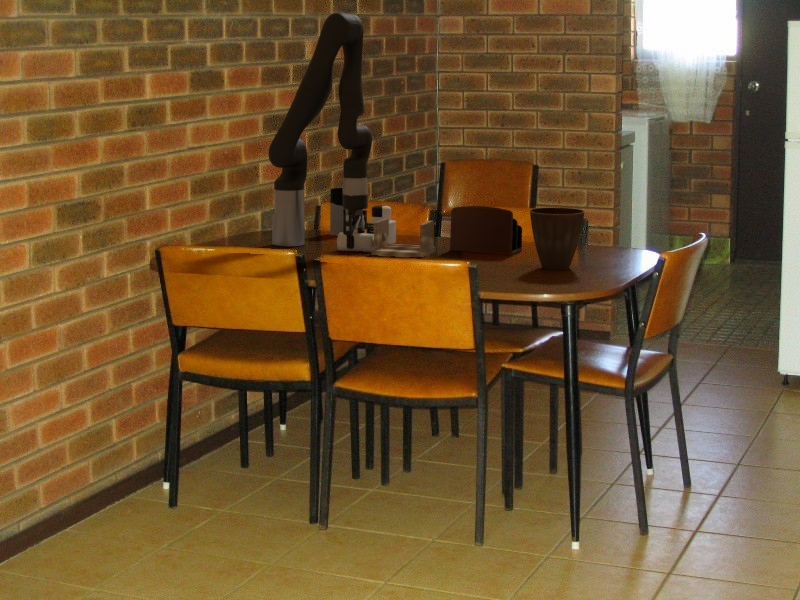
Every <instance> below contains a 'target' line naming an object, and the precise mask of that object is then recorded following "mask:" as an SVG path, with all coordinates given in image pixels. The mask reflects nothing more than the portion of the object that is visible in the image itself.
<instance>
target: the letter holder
mask: <svg viewBox="0 0 800 600" xmlns="http://www.w3.org/2000/svg"><path fill="white" fill-rule="evenodd" d="M449 235H450V238H449V239H450V240H449V242H450V243H449V249H450V250H449V251H450V252H463V253H464V252H466V253H479V254H480V253H481V254H490V255H491V254H493V255H504V256H506V255H507V256H511V255H514V254H515V255H516V254H518V253H519V252H522V251H523V227H522V226H521V225H519V223H518V220H517V219H516V218H514V213H513V211H512V210H510V209H509V210H508V209H505V208H499V207H492V206H484V205H482V206H481V205H470V206H469V205H467V206H456V207H452V208H451V211H450V234H449Z"/></svg>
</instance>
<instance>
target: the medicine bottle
mask: <svg viewBox="0 0 800 600" xmlns="http://www.w3.org/2000/svg"><path fill="white" fill-rule="evenodd" d="M383 219H389V244H397V243H396V242H397V221H396V220H394V219H393V220H392V208H391V206H388V205H381V204H379V205H374V206H372V207H371V220H370V221H367V229H366V234H374V222H377V221H380V220H383Z"/></svg>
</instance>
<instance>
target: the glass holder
mask: <svg viewBox="0 0 800 600" xmlns="http://www.w3.org/2000/svg"><path fill="white" fill-rule="evenodd" d="M329 202H330V203H329V224H330V225H329V226H330V227H329V228H330V230H329V233H328V235H330V236H334V235H335V236H336V237H338V235H339V233H340V232H342V233H343V216H344V214H348V209H344V208H343V187H334V188H333V187H332V188H330V201H329Z"/></svg>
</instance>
